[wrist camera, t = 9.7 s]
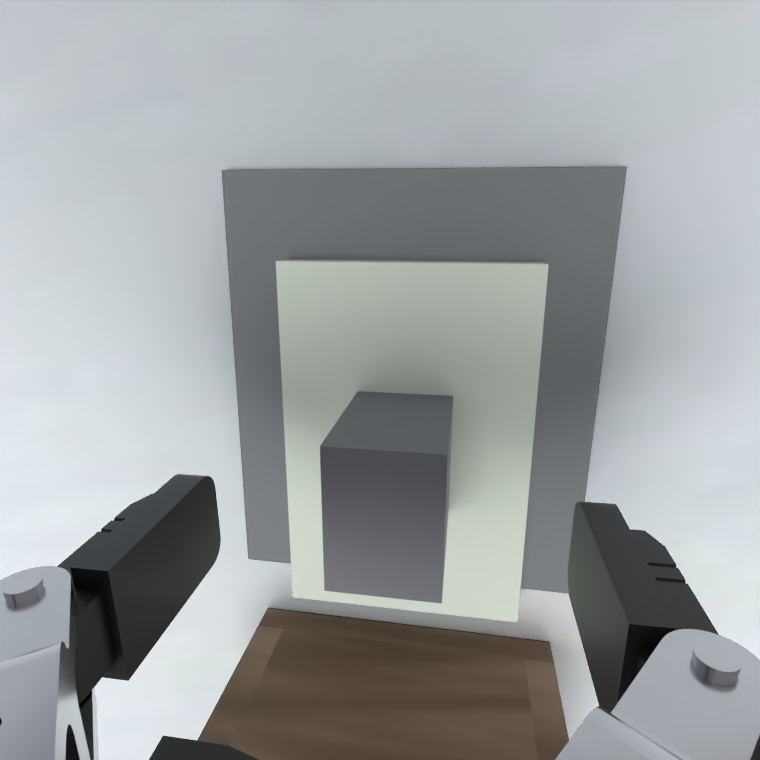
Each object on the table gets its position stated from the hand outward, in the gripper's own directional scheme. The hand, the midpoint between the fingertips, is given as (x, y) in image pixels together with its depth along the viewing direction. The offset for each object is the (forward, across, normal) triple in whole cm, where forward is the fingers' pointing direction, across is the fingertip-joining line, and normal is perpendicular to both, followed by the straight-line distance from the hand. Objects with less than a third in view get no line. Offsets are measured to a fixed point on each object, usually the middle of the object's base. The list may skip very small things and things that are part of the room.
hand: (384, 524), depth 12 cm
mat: (+7, 0, -1) cm, 7 cm away
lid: (+6, 0, +1) cm, 7 cm away
